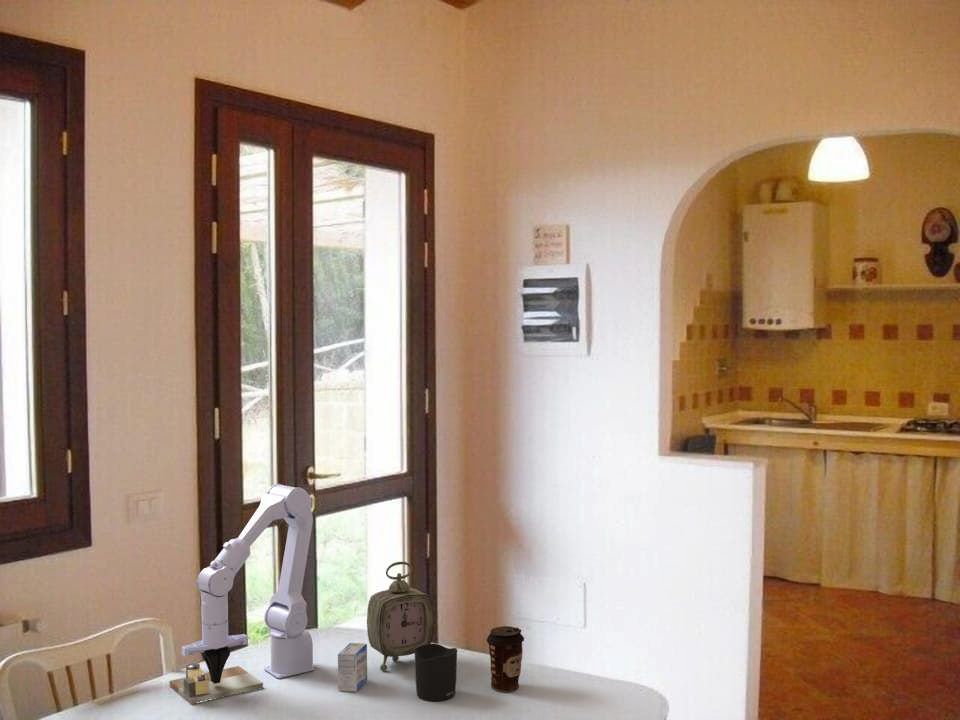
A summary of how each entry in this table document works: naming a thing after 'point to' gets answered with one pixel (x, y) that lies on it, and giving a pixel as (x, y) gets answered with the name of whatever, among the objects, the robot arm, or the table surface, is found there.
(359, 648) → the medicine box
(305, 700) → the table surface
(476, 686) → the table surface
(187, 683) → the metal latch base plate
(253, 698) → the table surface
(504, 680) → the coffee cup
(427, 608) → the tabletop clock
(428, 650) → the pen holder
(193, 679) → the latch bar
